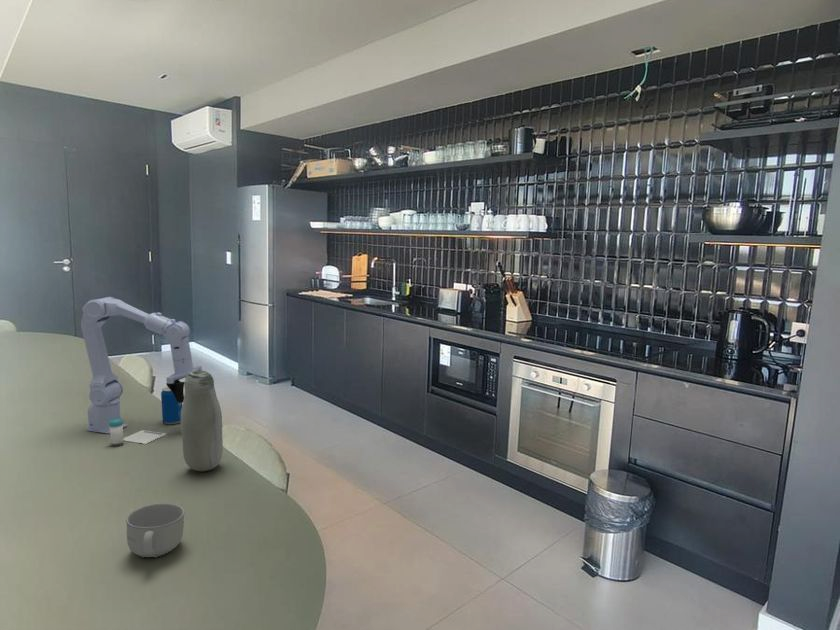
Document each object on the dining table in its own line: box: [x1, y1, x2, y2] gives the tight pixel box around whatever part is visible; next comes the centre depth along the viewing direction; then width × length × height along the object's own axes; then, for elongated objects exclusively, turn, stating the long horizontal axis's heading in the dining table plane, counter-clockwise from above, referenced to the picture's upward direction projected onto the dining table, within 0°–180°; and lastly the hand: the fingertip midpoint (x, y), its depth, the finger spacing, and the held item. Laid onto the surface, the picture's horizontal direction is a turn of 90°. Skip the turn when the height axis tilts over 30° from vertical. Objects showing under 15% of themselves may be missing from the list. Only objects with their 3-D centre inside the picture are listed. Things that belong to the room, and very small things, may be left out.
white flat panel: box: [123, 429, 167, 445], centre depth 174 cm, size 10×9×1 cm
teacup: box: [125, 502, 185, 558], centre depth 110 cm, size 14×11×8 cm
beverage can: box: [160, 386, 183, 425], centre depth 188 cm, size 6×6×12 cm
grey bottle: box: [180, 370, 224, 472], centre depth 149 cm, size 10×10×28 cm
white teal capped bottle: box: [109, 417, 125, 448], centre depth 167 cm, size 4×4×8 cm
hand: (188, 398), depth 180 cm, fingers open, 7 cm apart
